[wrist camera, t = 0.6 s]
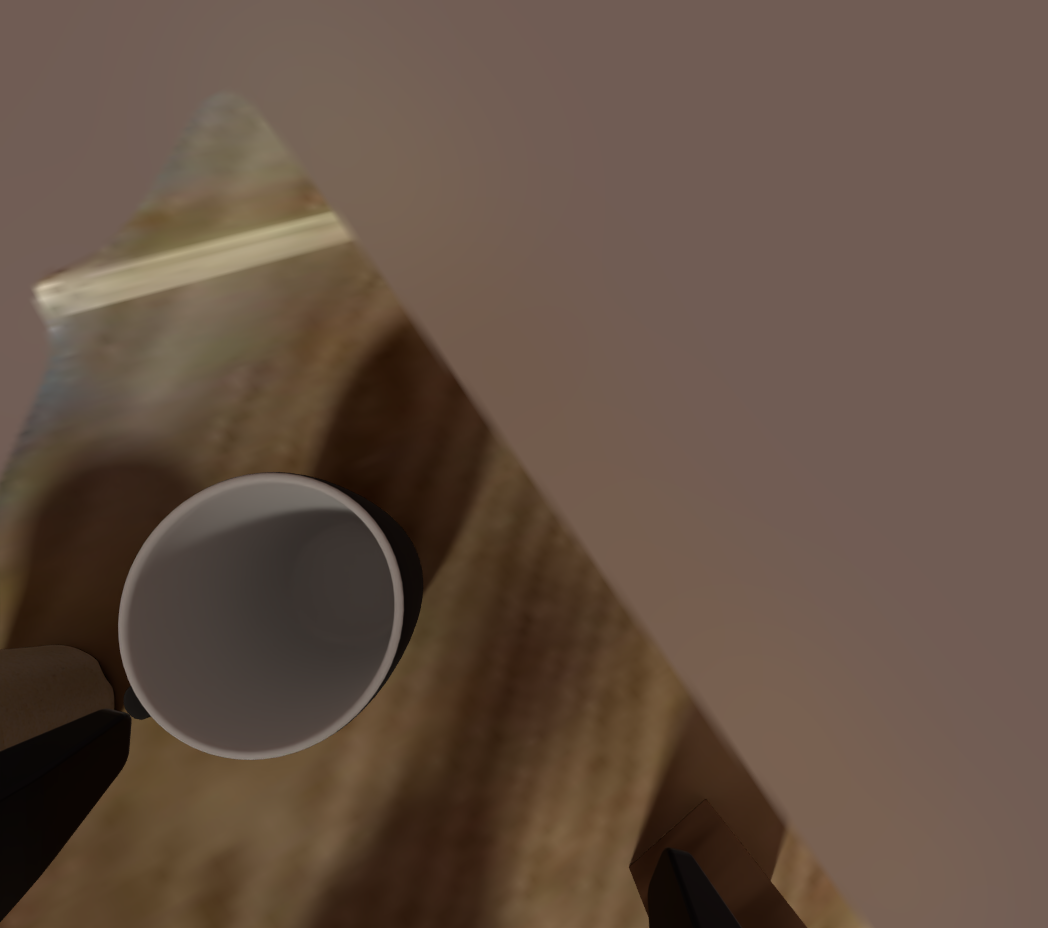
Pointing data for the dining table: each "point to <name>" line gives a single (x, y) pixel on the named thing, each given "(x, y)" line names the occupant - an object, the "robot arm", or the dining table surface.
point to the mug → (266, 614)
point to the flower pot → (47, 690)
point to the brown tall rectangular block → (721, 870)
